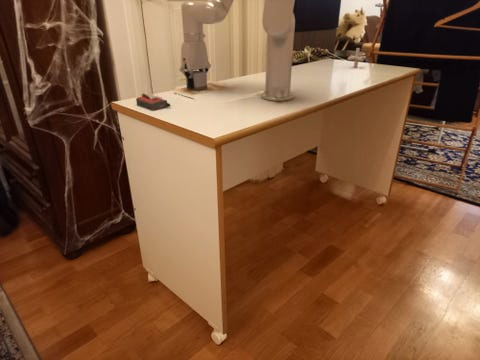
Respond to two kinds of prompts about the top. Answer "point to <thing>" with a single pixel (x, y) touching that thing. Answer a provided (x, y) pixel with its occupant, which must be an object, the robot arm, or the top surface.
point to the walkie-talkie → (151, 102)
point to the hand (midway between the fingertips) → (196, 86)
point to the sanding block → (199, 81)
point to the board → (210, 87)
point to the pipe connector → (357, 57)
